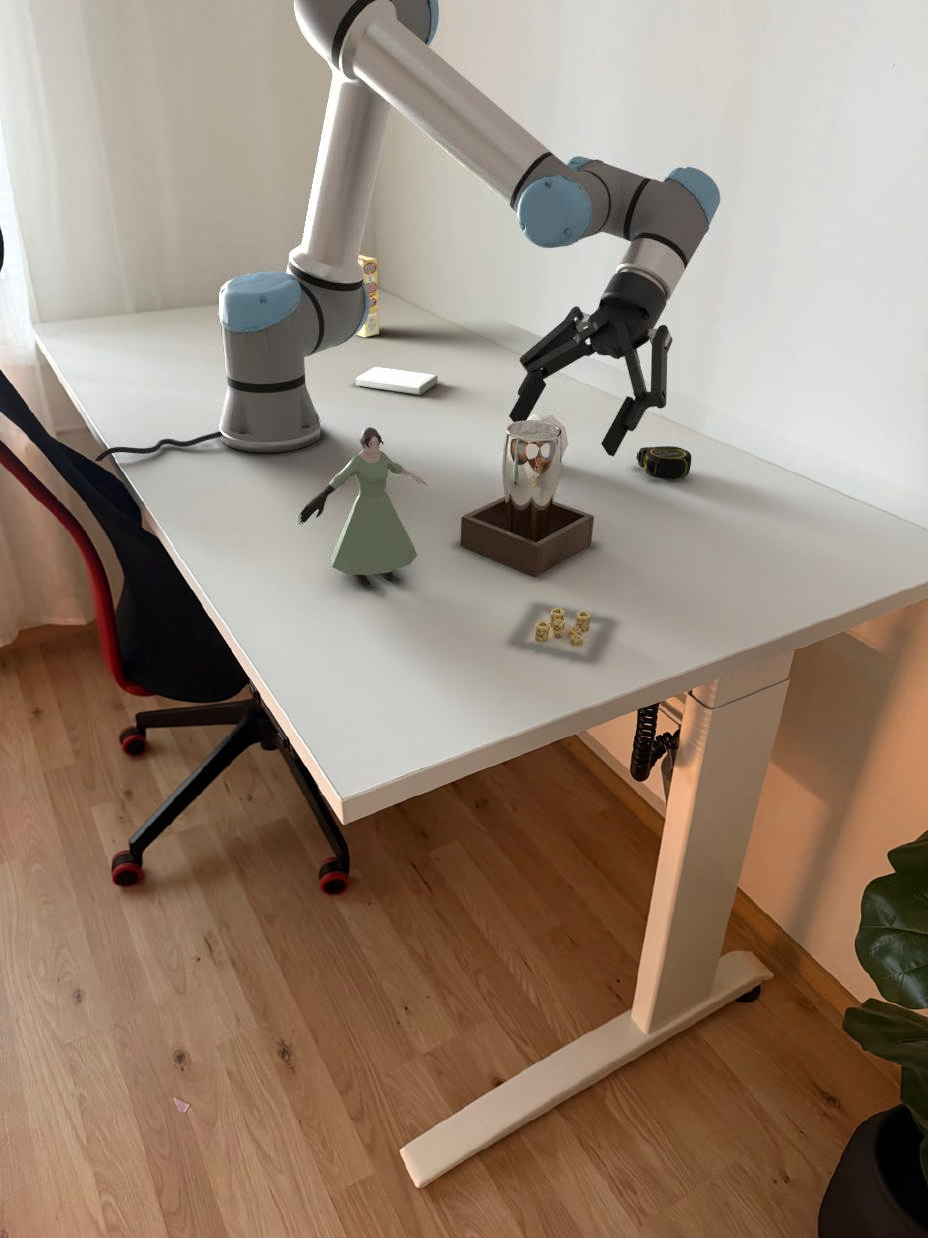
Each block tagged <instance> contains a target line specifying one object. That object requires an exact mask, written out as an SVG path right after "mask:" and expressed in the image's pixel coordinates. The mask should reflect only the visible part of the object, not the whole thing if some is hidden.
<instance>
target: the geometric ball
mask: <svg viewBox="0 0 928 1238" xmlns="http://www.w3.org/2000/svg"><path fill="white" fill-rule="evenodd" d="M527 420H537V421H544V422H549V423H552V424H555V425H557V426H559V427H560V428H561V429H562V457H563V456H564V454H565V452H566V450H567V448H568V445H569V442H568V434H567V430H566V427H565V426H564V425H563V423H561V422H560V421H559V420H558V419H557V418H556V417H555V416H554V415H553V414H552V415H551V414H543V413H534V414H532V415H529V417H528V419H527Z"/></svg>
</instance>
